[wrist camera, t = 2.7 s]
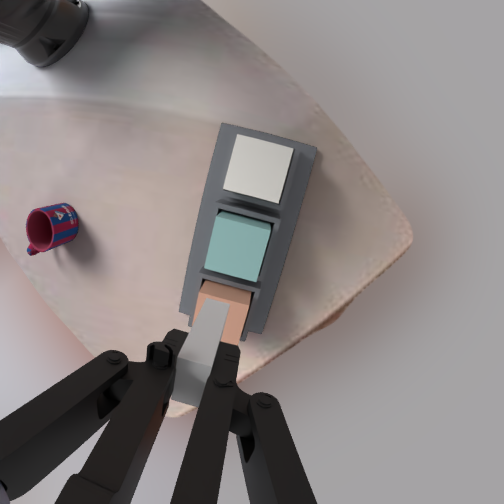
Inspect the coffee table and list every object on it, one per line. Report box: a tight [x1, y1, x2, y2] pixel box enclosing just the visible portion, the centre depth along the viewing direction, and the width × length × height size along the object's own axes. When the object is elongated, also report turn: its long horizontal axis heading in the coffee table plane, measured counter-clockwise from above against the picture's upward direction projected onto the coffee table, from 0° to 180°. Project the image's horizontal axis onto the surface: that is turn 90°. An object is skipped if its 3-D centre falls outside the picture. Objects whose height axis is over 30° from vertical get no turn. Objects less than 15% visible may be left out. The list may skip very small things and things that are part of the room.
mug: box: [26, 203, 78, 256], centre depth 39 cm, size 7×10×7 cm
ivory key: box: [223, 134, 293, 203], centre depth 32 cm, size 6×6×5 cm
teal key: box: [204, 211, 271, 282], centre depth 35 cm, size 6×6×5 cm
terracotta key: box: [192, 279, 251, 346], centre depth 37 cm, size 6×6×5 cm
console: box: [179, 123, 317, 341], centre depth 38 cm, size 28×13×6 cm, turn 165°
